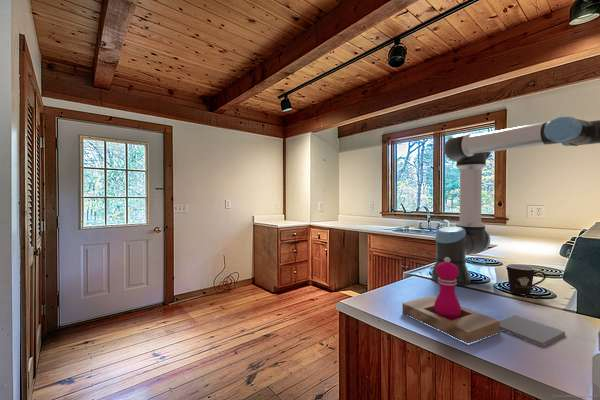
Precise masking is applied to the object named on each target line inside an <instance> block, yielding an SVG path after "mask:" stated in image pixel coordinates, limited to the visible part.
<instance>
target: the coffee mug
mask: <svg viewBox="0 0 600 400" xmlns="http://www.w3.org/2000/svg"><path fill="white" fill-rule="evenodd" d="M506 271H507V272H506V273H507V279H508V286H509V292H510V291H512V292H514V293H513V294H515V293H516V294H515V295H519V294H530V293H531V294H532V290H533V289H532V288H533V287H535V286H537V285H539V284H541V283H543V282H544V281H545V280H546V278H547V277H546V273H545V272H543V271H540V270H537V271H535V267H533V266H531V265H526V264H518V263H507V264H506ZM539 273H540V274H542V275H543V278H542V279H541V280H539V281H537V282H535V283H533V281H534V276H535V275H536V274H539ZM512 292H511V293H512ZM531 294H530V295H531Z"/></svg>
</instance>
